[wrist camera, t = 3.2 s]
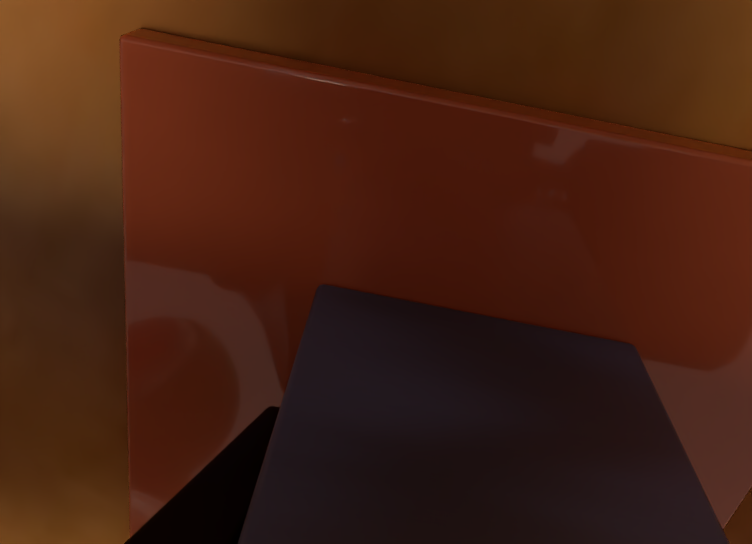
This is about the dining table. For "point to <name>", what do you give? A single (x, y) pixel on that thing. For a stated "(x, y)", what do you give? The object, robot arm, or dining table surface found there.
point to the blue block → (469, 436)
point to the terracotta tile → (409, 242)
